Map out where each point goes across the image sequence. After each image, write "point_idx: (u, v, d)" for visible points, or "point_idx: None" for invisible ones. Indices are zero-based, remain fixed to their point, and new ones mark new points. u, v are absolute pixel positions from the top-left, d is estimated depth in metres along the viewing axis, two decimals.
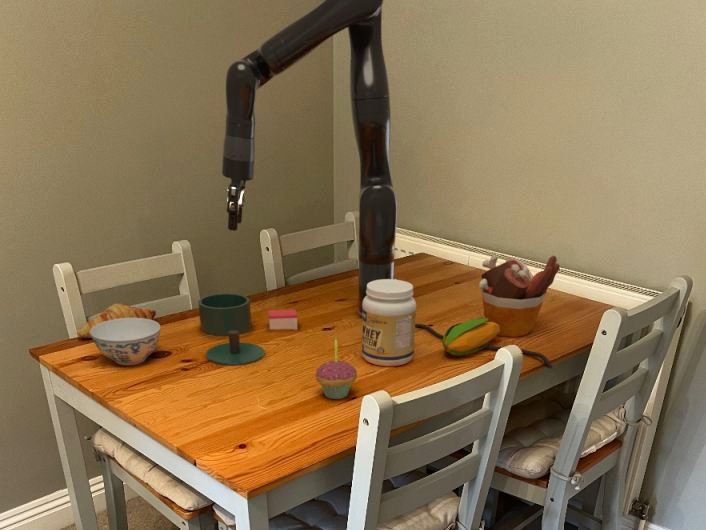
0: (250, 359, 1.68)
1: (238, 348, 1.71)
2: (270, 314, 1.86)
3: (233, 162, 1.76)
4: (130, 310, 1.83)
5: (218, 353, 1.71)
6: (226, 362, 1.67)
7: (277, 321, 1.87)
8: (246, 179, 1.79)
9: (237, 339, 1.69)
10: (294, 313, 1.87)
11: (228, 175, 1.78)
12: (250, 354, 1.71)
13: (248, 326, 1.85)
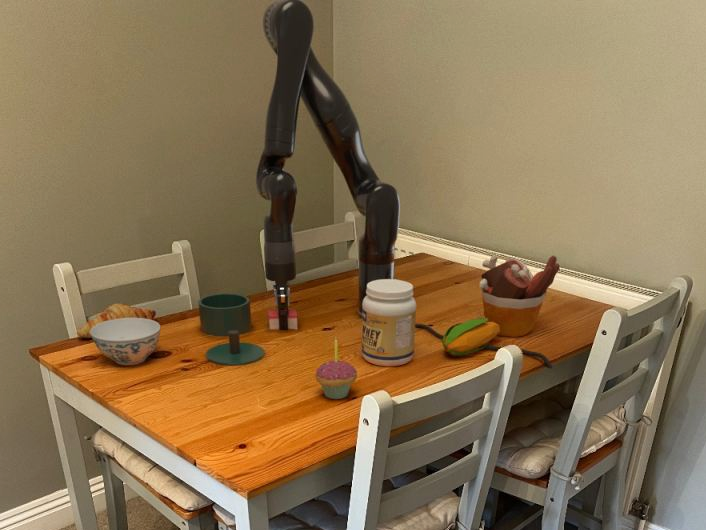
0: (250, 359, 1.68)
1: (238, 348, 1.71)
2: (270, 314, 1.86)
3: (277, 266, 1.78)
4: (130, 310, 1.83)
5: (218, 353, 1.71)
6: (226, 362, 1.67)
7: (277, 321, 1.86)
8: (291, 279, 1.81)
9: (237, 339, 1.69)
10: (294, 313, 1.87)
11: (273, 279, 1.80)
12: (250, 354, 1.71)
13: (248, 326, 1.85)
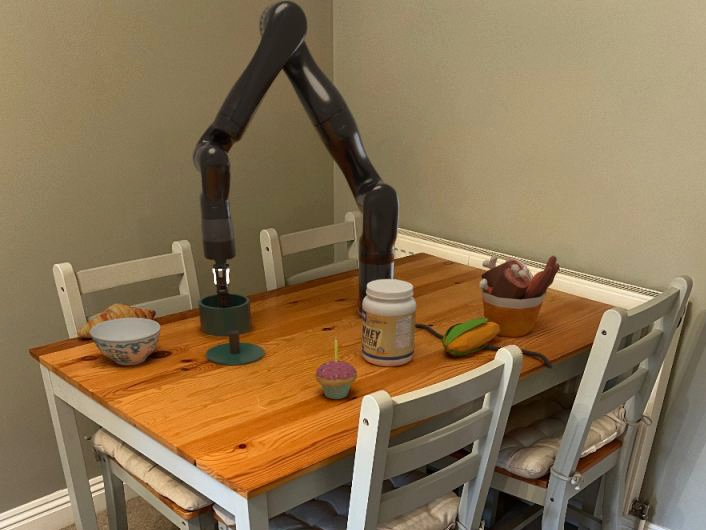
0: (250, 359, 1.68)
1: (238, 348, 1.71)
2: None
3: (215, 244, 1.73)
4: (130, 310, 1.83)
5: (218, 353, 1.71)
6: (226, 362, 1.67)
7: None
8: (230, 258, 1.76)
9: (237, 339, 1.69)
10: None
11: (211, 257, 1.75)
12: (250, 354, 1.71)
13: (248, 326, 1.85)
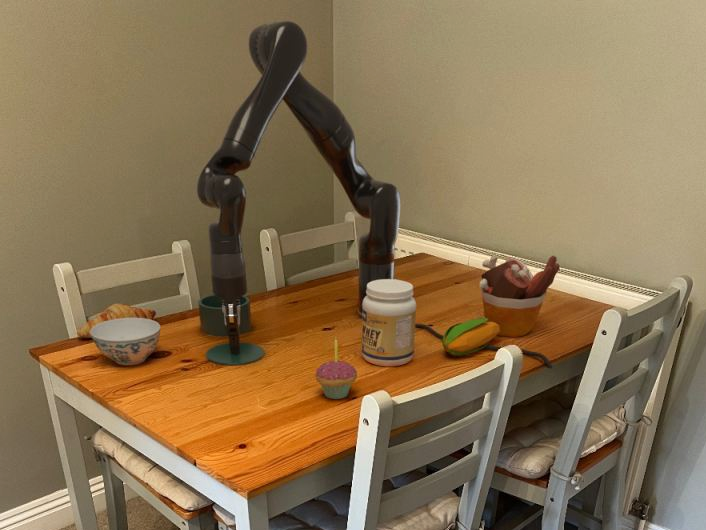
0: (250, 359, 1.68)
1: None
2: None
3: (225, 281, 1.59)
4: (130, 310, 1.83)
5: (218, 353, 1.71)
6: (226, 362, 1.67)
7: None
8: (241, 295, 1.62)
9: None
10: None
11: (221, 295, 1.61)
12: (250, 354, 1.71)
13: (248, 326, 1.85)
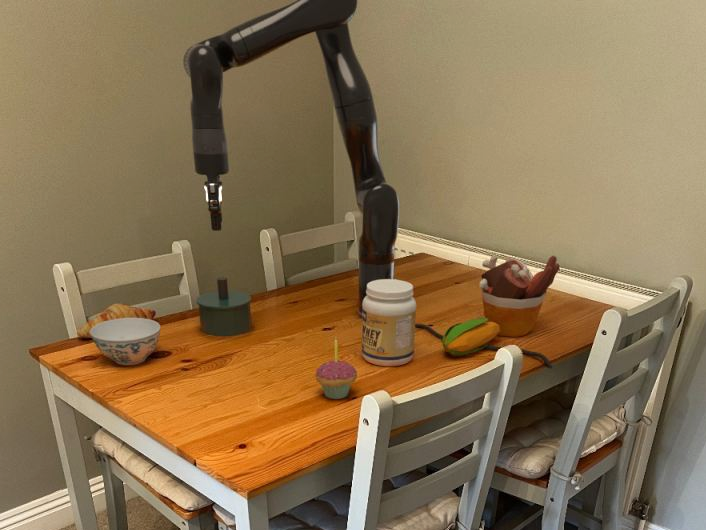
0: (237, 304, 1.80)
1: (226, 294, 1.82)
2: None
3: (206, 157, 1.63)
4: (130, 310, 1.83)
5: (207, 299, 1.83)
6: (215, 306, 1.78)
7: None
8: (223, 173, 1.66)
9: (225, 285, 1.81)
10: None
11: (203, 172, 1.65)
12: (237, 300, 1.83)
13: (248, 326, 1.85)
